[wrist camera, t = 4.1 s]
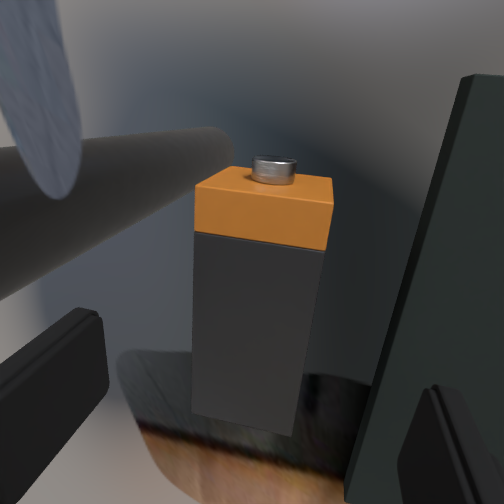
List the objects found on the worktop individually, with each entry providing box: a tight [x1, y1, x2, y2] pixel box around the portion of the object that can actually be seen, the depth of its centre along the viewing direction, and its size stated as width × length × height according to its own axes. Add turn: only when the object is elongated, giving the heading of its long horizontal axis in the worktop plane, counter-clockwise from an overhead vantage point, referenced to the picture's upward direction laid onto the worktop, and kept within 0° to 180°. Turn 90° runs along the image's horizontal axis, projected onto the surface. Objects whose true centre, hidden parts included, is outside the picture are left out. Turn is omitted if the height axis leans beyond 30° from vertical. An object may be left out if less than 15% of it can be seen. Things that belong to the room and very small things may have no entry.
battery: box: [191, 155, 334, 437], centre depth 14 cm, size 4×11×4 cm, turn 174°
